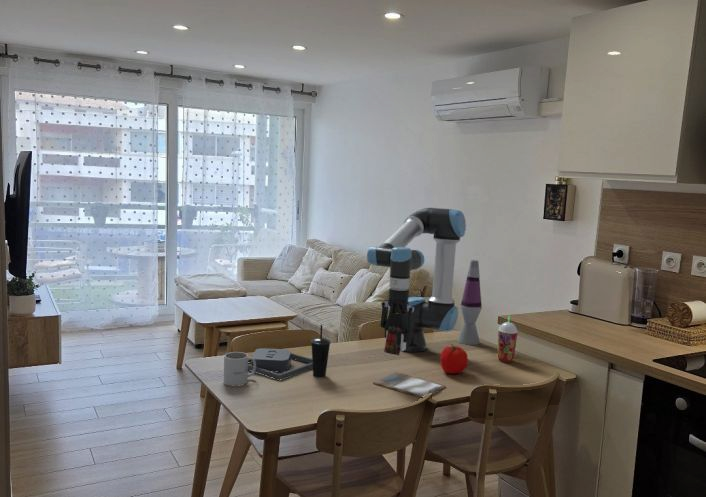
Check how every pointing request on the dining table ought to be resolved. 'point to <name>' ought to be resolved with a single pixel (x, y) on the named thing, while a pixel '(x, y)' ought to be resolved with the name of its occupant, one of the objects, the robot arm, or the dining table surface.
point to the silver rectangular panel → (409, 384)
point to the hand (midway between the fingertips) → (395, 348)
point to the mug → (237, 368)
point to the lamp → (471, 306)
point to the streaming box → (272, 359)
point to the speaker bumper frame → (288, 373)
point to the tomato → (453, 359)
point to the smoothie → (507, 341)
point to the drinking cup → (320, 355)
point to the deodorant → (394, 335)
